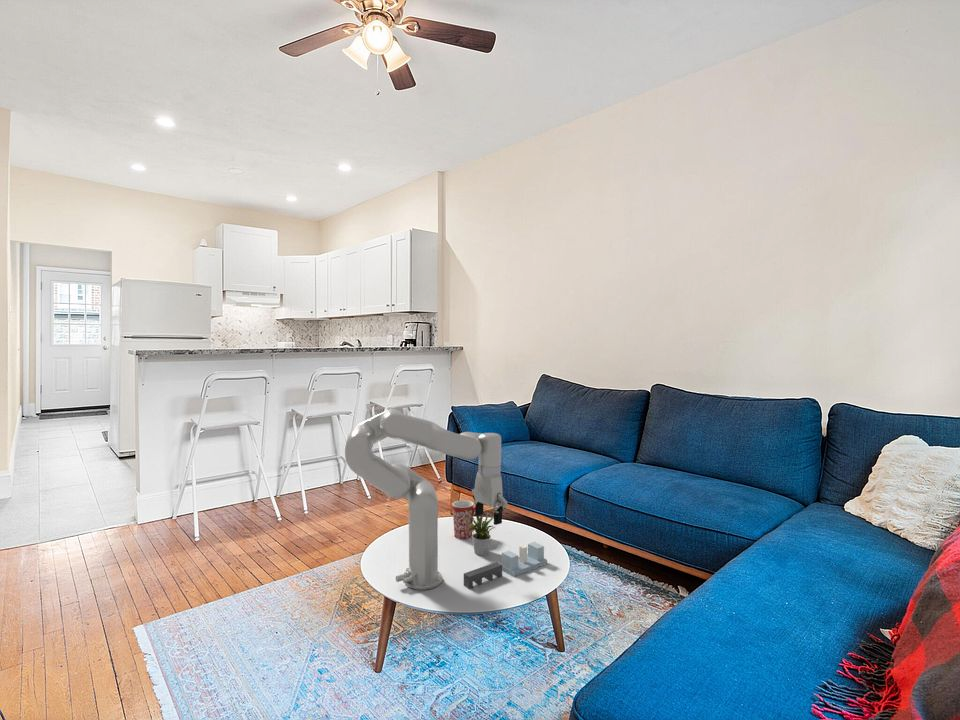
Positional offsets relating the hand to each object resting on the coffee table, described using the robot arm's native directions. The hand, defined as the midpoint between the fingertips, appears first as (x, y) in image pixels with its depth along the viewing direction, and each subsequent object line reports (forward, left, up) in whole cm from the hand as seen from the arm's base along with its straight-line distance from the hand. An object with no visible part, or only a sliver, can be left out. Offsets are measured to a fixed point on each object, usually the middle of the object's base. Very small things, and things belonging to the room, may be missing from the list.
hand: (488, 519), depth 170 cm
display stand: (+15, -2, -20) cm, 24 cm away
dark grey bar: (-3, -2, -20) cm, 20 cm away
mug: (+15, +32, -20) cm, 40 cm away
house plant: (+9, +17, -20) cm, 28 cm away
